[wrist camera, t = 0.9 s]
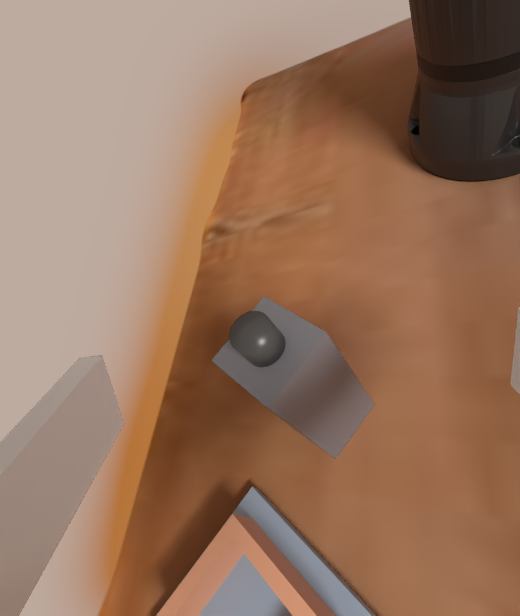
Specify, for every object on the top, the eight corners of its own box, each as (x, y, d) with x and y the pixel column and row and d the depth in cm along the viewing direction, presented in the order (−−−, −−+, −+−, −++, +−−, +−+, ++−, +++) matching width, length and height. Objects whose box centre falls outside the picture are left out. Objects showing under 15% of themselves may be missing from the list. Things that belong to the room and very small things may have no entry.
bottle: (324, 371, 33) (248, 277, 22) (374, 404, 30) (313, 313, 19) (288, 419, 32) (192, 346, 22) (335, 459, 29) (250, 394, 18)
